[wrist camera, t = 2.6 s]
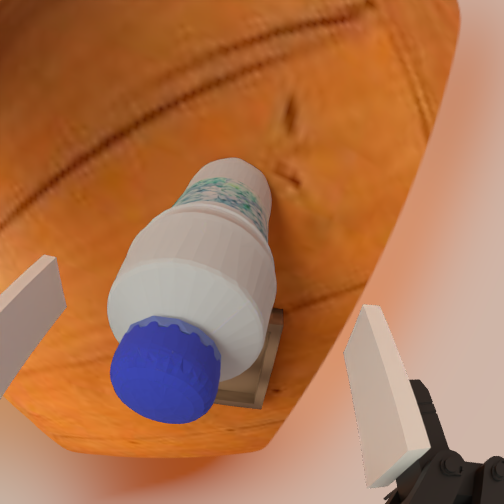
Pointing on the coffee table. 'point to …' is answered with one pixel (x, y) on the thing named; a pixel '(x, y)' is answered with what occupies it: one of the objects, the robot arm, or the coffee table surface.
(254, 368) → the tray
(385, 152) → the coffee table surface
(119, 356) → the bottle
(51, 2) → the coffee table surface
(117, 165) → the coffee table surface
